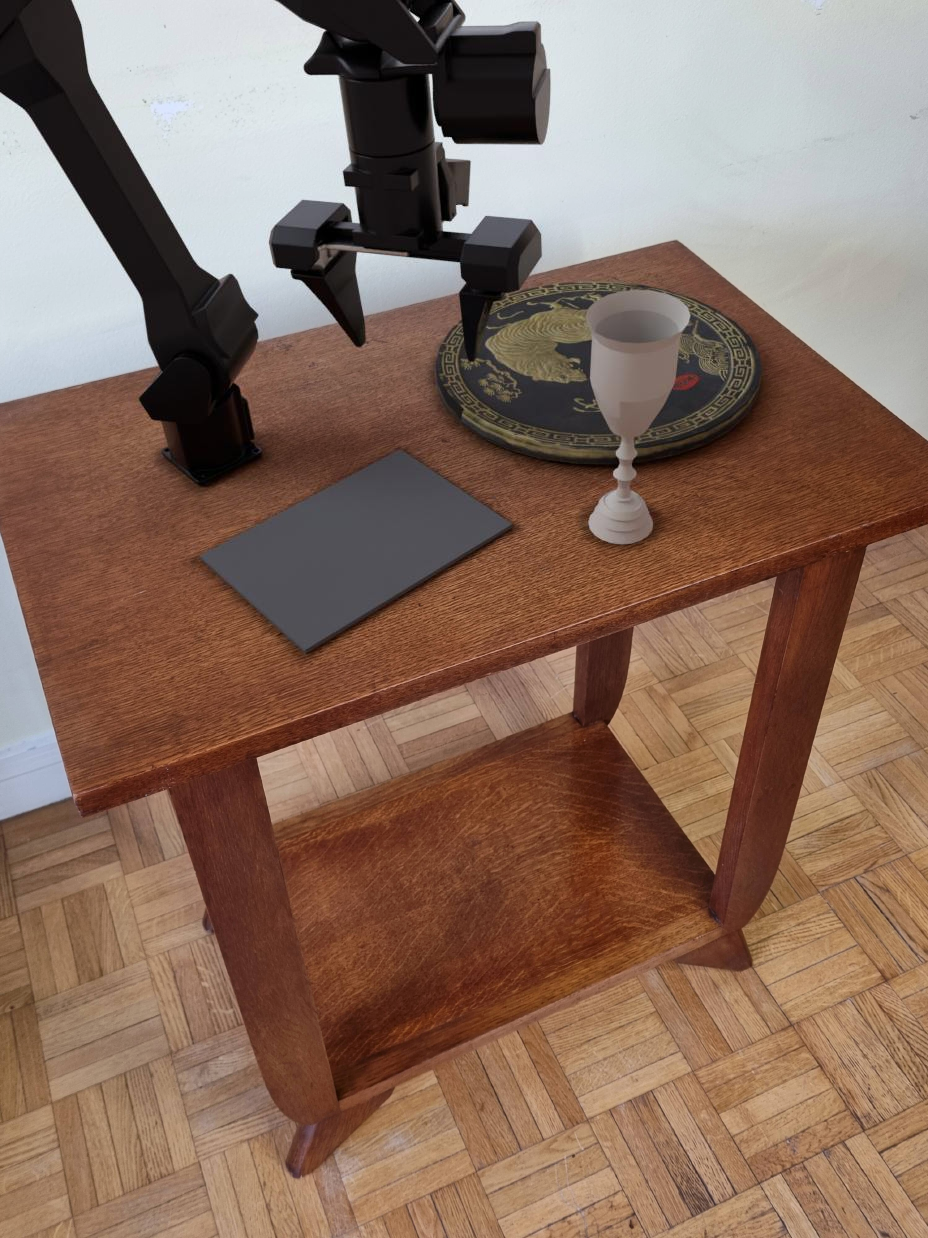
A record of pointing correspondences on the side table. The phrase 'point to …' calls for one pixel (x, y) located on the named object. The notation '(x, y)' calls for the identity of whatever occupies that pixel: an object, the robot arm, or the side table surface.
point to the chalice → (631, 391)
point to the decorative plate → (560, 378)
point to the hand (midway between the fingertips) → (416, 351)
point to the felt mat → (353, 548)
